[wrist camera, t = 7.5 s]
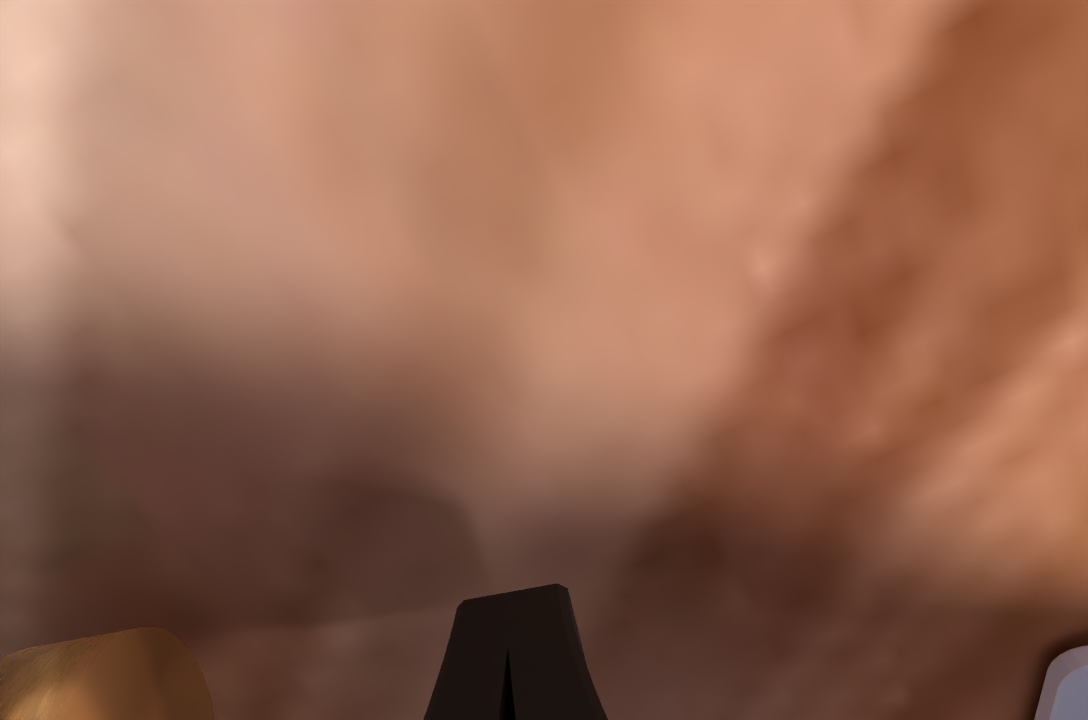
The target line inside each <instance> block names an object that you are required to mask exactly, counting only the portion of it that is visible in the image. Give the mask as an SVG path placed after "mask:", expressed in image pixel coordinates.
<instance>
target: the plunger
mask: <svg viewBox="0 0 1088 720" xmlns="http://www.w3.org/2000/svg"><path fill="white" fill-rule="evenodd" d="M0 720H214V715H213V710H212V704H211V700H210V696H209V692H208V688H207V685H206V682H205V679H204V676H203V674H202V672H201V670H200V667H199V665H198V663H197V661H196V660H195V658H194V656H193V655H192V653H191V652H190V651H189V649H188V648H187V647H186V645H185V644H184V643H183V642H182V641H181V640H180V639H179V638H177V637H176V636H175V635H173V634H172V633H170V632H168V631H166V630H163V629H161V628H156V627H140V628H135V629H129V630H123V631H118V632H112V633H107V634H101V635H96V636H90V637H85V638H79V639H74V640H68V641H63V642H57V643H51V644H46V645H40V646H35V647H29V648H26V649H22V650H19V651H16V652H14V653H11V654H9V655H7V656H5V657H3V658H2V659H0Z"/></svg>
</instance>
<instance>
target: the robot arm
mask: <svg viewBox="0 0 1088 720" xmlns="http://www.w3.org/2000/svg"><path fill="white" fill-rule="evenodd" d="M424 720H608V719H607V717H606V714H605V712H604V710H603V707H602V705H601V703H600V700H599V698H598V695H597V693H596V690H595V688H594V685H593V682H592V680H591V677H590V674H589V671H588V668H587V665H586V661H585V657H584V653H583V649H582V645H581V641H580V637H579V633H578V628H577V624H576V620H575V616H574V612H573V608H572V604H571V600H570V596H569V592H568V588H566V587H564V586H562V585H560V584H552V585H547V586H541V587H535V588H530V589H524V590H519V591H513V592H507V593H502V594H496V595H491V596H485V597H479V598H474V599H468V600H464V601H463V602H462V603H461V604H460V605H459V606H458V608H457V611H456V615H455V619H454V623H453V627H452V631H451V635H450V638H449V642H448V646H447V649H446V653H445V656H444V659H443V663H442V666H441V669H440V672H439V675H438V679H437V682H436V685H435V688H434V691H433V694H432V697H431V700H430V703H429V706H428V709H427V712H426V714H425V717H424ZM1034 720H1088V645H1086V646H1080V647H1077V648H1073V649H1070V650H1068V651H1066V652H1064V653H1062V654H1060V655H1059V656H1057V657H1056V658H1055V659H1054V660H1053V661H1052V662H1051V664H1050V666H1049V668H1048V670H1047V674H1046V677H1045V681H1044V685H1043V689H1042V692H1041V696H1040V700H1039V704H1038V708H1037V711H1036V715H1035V719H1034Z"/></svg>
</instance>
